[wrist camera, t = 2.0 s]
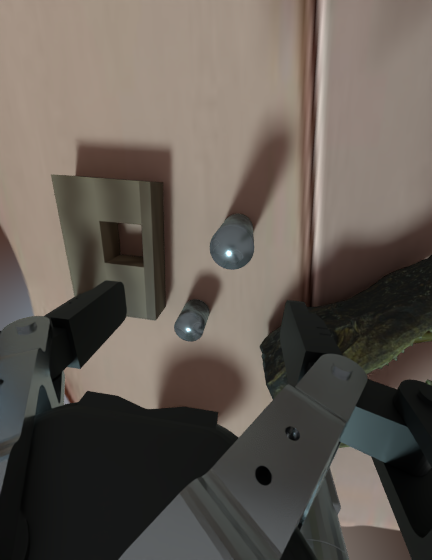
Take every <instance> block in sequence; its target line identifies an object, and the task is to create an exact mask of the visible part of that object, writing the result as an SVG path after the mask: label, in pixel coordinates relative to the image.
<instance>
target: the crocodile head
mask: <svg viewBox="0 0 432 560" xmlns="http://www.w3.org/2000/svg"><path fill="white" fill-rule="evenodd" d="M307 309H308V311H309V313H312V314H316V315H317V316H319V317H320V318H321V319H322V320H323V321H324V322H325V324H326V326H327V328H328V330H329V331H330V333H331V336H332V337H333V338H334V340H335V342H336V344H337V346H338V347H339V349H340V351H341V353H342V355H343V356H344V357H347V358H349V359H351V360H353V361H354V362H356V363H357V364H358V365H359V366H360V367H362V369H363V370H364V371H365V373H366V374H368V373H370V372H371V371H373V370H375V369H377V368H379V369H382V367H383V366H384V365H386V364H387V365H388V363H389V362H390V361H391V360H393V359H395V360H396V361H397V356H398V355H399V354H400V353H401V352H402V353H404V349H405V348H407V347H408V346H410V345H411V346H413V343H421V342H427V341H432V255H431V256H430V257H429V258H427V259H424V260H422V261H420V262H418V263H416V264H414V265H411V266H409V267H406V268H403V269H400V270H398V271H395V272H393V273H391V274H389V275H387V276H385V277H384V278H382V279H380V280H379V281H378V282H377V283H376V284H374V285H373V286H371V287H370V288H368V289H367V290H365V291H363V292H361V293H359V294H357V295H356V296H354V297H352V298H350V299H348V300H346V301H341V302H336V303H334V304H329V305H325V306H319V307H307ZM280 330H281V327H279V328H278V329H276V330H275V331H273V332H272V333H271V334H269V335H268V336H267V337H266V338H265V339H264V341H263V342H262V344H261V345H260V349H261V351H262V353H263V354H262V359H263V367H264V373H265V380H266V385H267V387H268V389H269V392H270V394H271V396H272V399H274V398H275V397H276V396H277V395H278V394H279V393H280V392H281V391H282V389H283V388H284V387H285V386H286V385H288V384H289V383H288V378H287V373H286V368H285V363H284V358H283V353H282V348H281V343H280ZM425 383H427V384H429V385H432V381H430V380H428V379H427V381H426V382H425ZM342 447H350V446H348V445H346V444H344V443H342V442H341V444H340V446H339V448H342Z"/></svg>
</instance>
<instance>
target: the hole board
mask: <svg viewBox="0 0 432 560" xmlns="http://www.w3.org/2000/svg"><path fill="white" fill-rule="evenodd" d="M51 177H52V182H53V188H54V193H55V198H56V203H57V208H58V213H59V219H60V224H61V229H62V234H63V239H64V244H65V249H66V255H67V260H68V265H69V270H70V275H71V280H72V285H73V291H74V296H75V297H74V298H72V299H70V300H69V301H67V302H66V303H64V304H62V305H61V306H59V307H58V308H56V309H54V310H53V311H51V312H50V313H48V314H46V315H45V316H44V317H47V316H49V315H50V314H52V313H53V312H55V311H56V310H58V309H59V308H61V307H62V306H64V305H65V304H67V303H68V304H69V302H70V301H71V300H73V299H76V297H78V296H79V295H81V294H82V293H84V292H86V291H89V290H92V289H93V288H95V287H96V286H98V285H99V284H101V283H102V282H104V281H106V280H109V281H118V282H122V283H123V284H124V288H125V297H126V306H127V314H126V316H127V317H135V318H142V319H149V320H156V319H157V318H158V317H159V315H160V314H161V312H162V311H163V310H164V308H165V307H166V306H165V259H164V212H163V183H162V182H149V181H135V180H122V179H108V178H95V177H82V176H67V175H51ZM117 223H127V224H138V225H141V226H142V243H143V257H138V256H129V255H121V254H120V244H119V234H118V224H117Z"/></svg>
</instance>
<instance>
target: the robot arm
mask: <svg viewBox="0 0 432 560" xmlns="http://www.w3.org/2000/svg"><path fill="white" fill-rule="evenodd" d="M126 314H127V306H126V297H125V288H124V284H123V283H122V282H118V281H109V280H106V281H104V282H102V283H101V284H99V285H98V286H96V287H95V288H93V289H92V290H89V291H86V292H84V293H82V294H81V295H79V296H78V297H76V299H73V300H71V301H70V302H69V304H68V303H67V304H65V305H64V306H62V307H61V308H59V309H58V310H56V311H55V312H53V313H52V314H50V315H49V316H47V317H44V316H32V317H27V318H23V319H20V320H17V321H14V322H13V323H10V324H9V325H7V326H6V327H5V328H4V329H3V330H2V331H0V560H349V557H348V553H347V550H346V546H345V542H344V538H343V535H342V531H341V527H340V523H339V519H338V513H339V511H340V509H341V507H340V502H339V499H338V495H337V492H336V488H335V484H334V481H333V477H332V474H331V470H330V465H331V463H332V461H333V459H334V457H335V455H336V452H337V450H338V448H339V446H340V444H341V442H342V443H344V444H346V445H348V446H350V447H352V448H355V449H357V450H359V451H361V452H363V453H365V454H367V455H370V456H371V457H372V460H373V462H374V465H375V467H376V470H377V472H378V475H379V477H380V480H381V482H382V485H383V488H384V490H385V493H386V495H387V498H388V500H389V503H390V505H391V508H392V510H393V513H394V515H395V518H396V520H397V523H398V526H399V528H400V531H401V533H402V536H403V538H404V541H405V543H406V546H407V548H408V551H409V553H410V556H411V558H412V560H432V385H429V384H427V383H424V382H421V381H417V380H405V381H402V382H401V384H400V386H399V388H398V390H397V389H394V388H391V387H388V386H385V385H383V384H380V383H377V382H374V381H372V380H369V379H367V375H366V373H365V371H364V370H363V369H362V367H360V366H359V365H358V364H357V363H356V362H354V361H353V360H351V359H349V358H347V357H344V356H343V355H342V353H341V351H340V349H339V347H338V346H337V344H336V342H335V340H334V338H333V337H332V336H331V333H330V331H329V330H328V328H327V326H326V324H325V322H324V321H323V320H322V319H321V318H320V317H319V316H317V315H316V314H312V313H309V311H308V309H307V307H306V304H305V303H304V302H299V301H290V300H287V302H286V305H285V309H284V314H283V319H282V324H281V330H280V343H281V348H282V353H283V358H284V363H285V368H286V373H287V378H288V383H289V384H288V385H286V386H285V387H284V388H283V389H282V391H281V392H280V393H279V394H278V395H277V396H276V397H275V398H274V399H273V401H272V402H271V403H270V404H269V405H268V406H267V407H266V408H265V409H264V410H263V412H262V413H261V414H260V415H259V416H258V417H257V418H256V419H255V420H254V422H253V423H252V424H251V425H250V426H249V427H248V428H247V429H246V430H245V432H244V433H243V434H242V435H241V436H240V437H239V438H238V437H237V436H236V435H234V434H233V433H232V432H231V431H229V430H227V429H226V428H224V427H222V426H220V425H218V424H217V418H218V412H214V411H208V410H202V409H195V408H189V407H175V408H162V409H145V408H142V407H140V406H138V405H136V404H134V403H132V402H130V401H128V400H125V399H123V398H121V397H119V396H115V395H109V394H103V393H96V392H90V391H87V392H86V393H85V395H84V396H83V397H82V398H81V400H80V401H79V402H76V403H70V404H65V405H64V389H65V374H64V369H65V368H66V367H72V368H78V369H81V367H82V366H83V365H84V364H85V363H86V362H87V361H88V360H89V359H90V358H91V357H92V355H93V354H94V353H95V352H96V351H97V350H98V349H99V348H100V347H101V346H102V344H103V343H104V342H105V341H106V340H107V339H108V338H109V337H110V336H111V335H112V334H113V332H114V331H115V330H116V329H117V328H118V327H119V326H120V325H121V324H122V323H123V321H124V320H125V318H126Z"/></svg>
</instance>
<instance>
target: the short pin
mask: <svg viewBox="0 0 432 560" xmlns="http://www.w3.org/2000/svg"><path fill="white" fill-rule="evenodd" d="M208 316H209V308H208V306H207V304H206V303H205V302H203V301H201V300H198V299H193V300H190V301H188V302H187V303H186V304H185V306H184V308H183V310H182V312H181V313H180V315H179V317H178V319H177V320H176V322H175V325H174V329H175V332H176V334H177V335H178V336H179V337H180V338H181V339H183V340H185V341H196V340H198V339H199V338H200V337H201V336H202V334H203V331H204V328H205V325H206V322H207V319H208Z"/></svg>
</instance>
